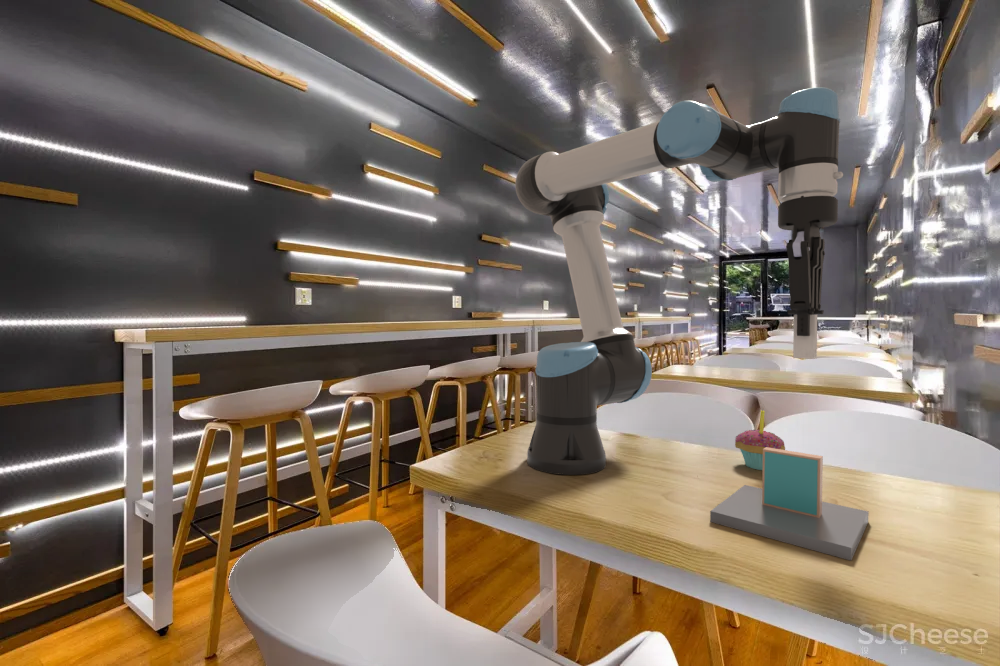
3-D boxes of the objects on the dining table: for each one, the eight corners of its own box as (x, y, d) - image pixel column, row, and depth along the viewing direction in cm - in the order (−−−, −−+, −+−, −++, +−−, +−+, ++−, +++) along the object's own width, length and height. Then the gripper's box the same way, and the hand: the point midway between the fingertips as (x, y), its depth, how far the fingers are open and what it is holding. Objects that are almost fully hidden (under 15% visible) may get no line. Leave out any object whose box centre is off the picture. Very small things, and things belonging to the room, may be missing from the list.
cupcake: (792, 475, 88) (793, 409, 88) (741, 472, 90) (742, 408, 89) (775, 462, 96) (776, 402, 96) (729, 459, 98) (729, 400, 98)
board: (710, 521, 67) (710, 511, 67) (744, 494, 78) (744, 484, 78) (851, 560, 56) (851, 547, 56) (868, 522, 67) (868, 511, 67)
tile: (761, 504, 70) (762, 449, 70) (765, 501, 71) (766, 447, 71) (819, 518, 65) (820, 458, 65) (821, 514, 66) (822, 456, 66)
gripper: (828, 185, 65) (825, 362, 65) (845, 203, 74) (842, 357, 75) (766, 195, 70) (764, 359, 70) (789, 211, 80) (787, 354, 80)
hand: (804, 358), depth 73 cm, fingers closed
